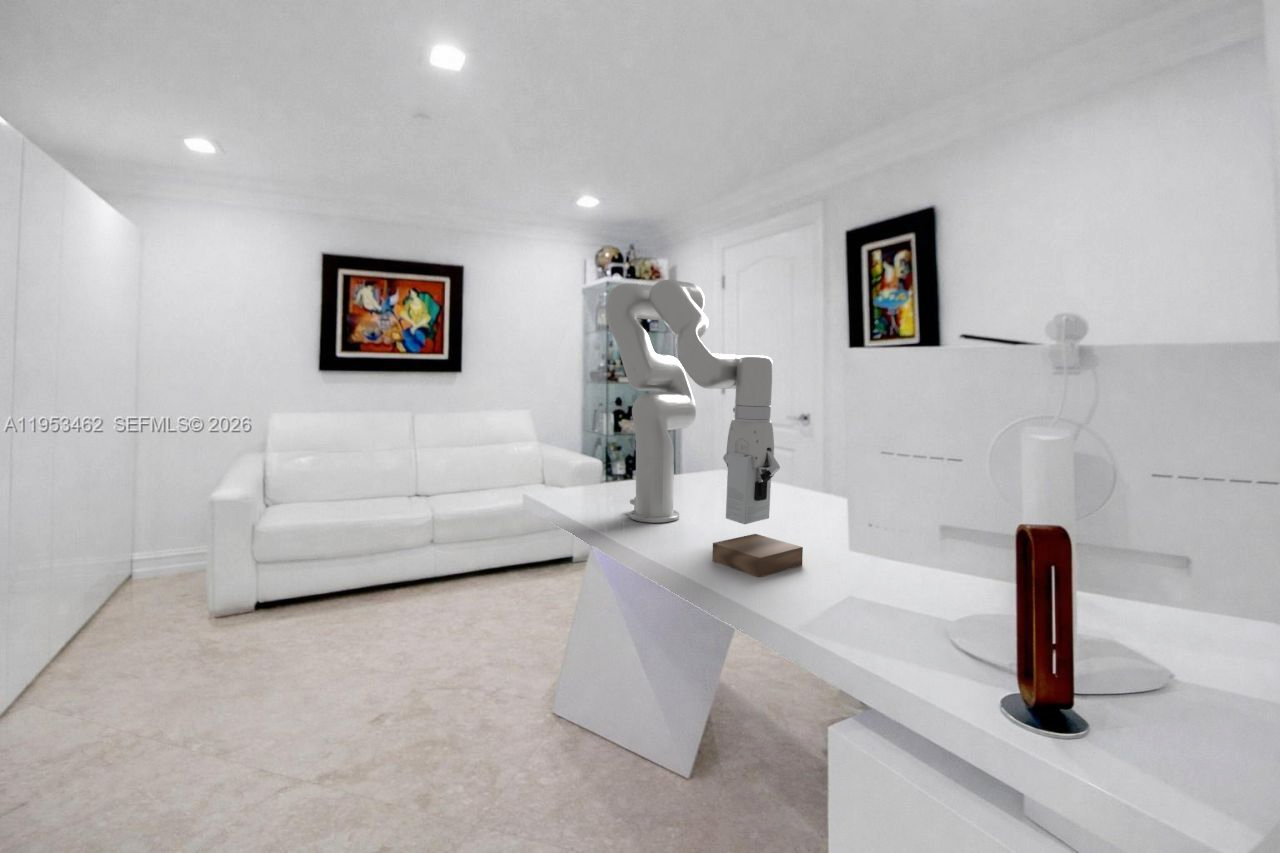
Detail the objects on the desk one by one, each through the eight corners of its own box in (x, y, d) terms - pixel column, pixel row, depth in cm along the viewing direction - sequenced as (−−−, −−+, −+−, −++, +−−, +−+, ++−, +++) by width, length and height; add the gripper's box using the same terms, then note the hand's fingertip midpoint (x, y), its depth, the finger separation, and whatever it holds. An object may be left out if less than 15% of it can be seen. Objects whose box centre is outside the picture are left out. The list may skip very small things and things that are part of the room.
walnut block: (712, 560, 117) (712, 542, 117) (755, 550, 124) (755, 533, 124) (759, 577, 108) (759, 557, 107) (802, 565, 115) (802, 547, 114)
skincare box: (749, 514, 136) (752, 448, 134) (770, 519, 131) (774, 452, 130) (723, 519, 131) (726, 451, 129) (745, 525, 126) (748, 455, 124)
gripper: (711, 411, 133) (708, 491, 135) (771, 418, 119) (767, 507, 121) (735, 410, 138) (732, 488, 139) (796, 416, 124) (791, 502, 126)
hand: (748, 496), depth 130 cm, fingers closed on skincare box, 6 cm apart
